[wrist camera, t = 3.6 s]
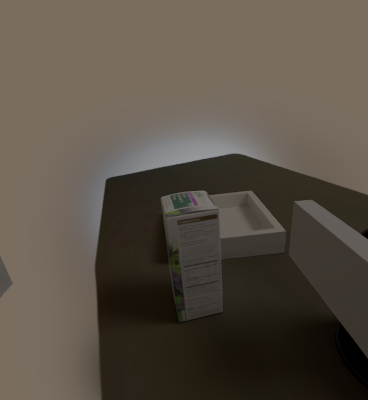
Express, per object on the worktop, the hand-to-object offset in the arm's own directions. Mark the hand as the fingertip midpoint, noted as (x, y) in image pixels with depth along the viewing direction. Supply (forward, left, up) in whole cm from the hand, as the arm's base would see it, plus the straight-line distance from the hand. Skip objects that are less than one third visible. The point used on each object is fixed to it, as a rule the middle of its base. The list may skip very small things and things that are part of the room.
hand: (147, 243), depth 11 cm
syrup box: (-2, -15, -19) cm, 24 cm away
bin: (-8, -32, -19) cm, 38 cm away
